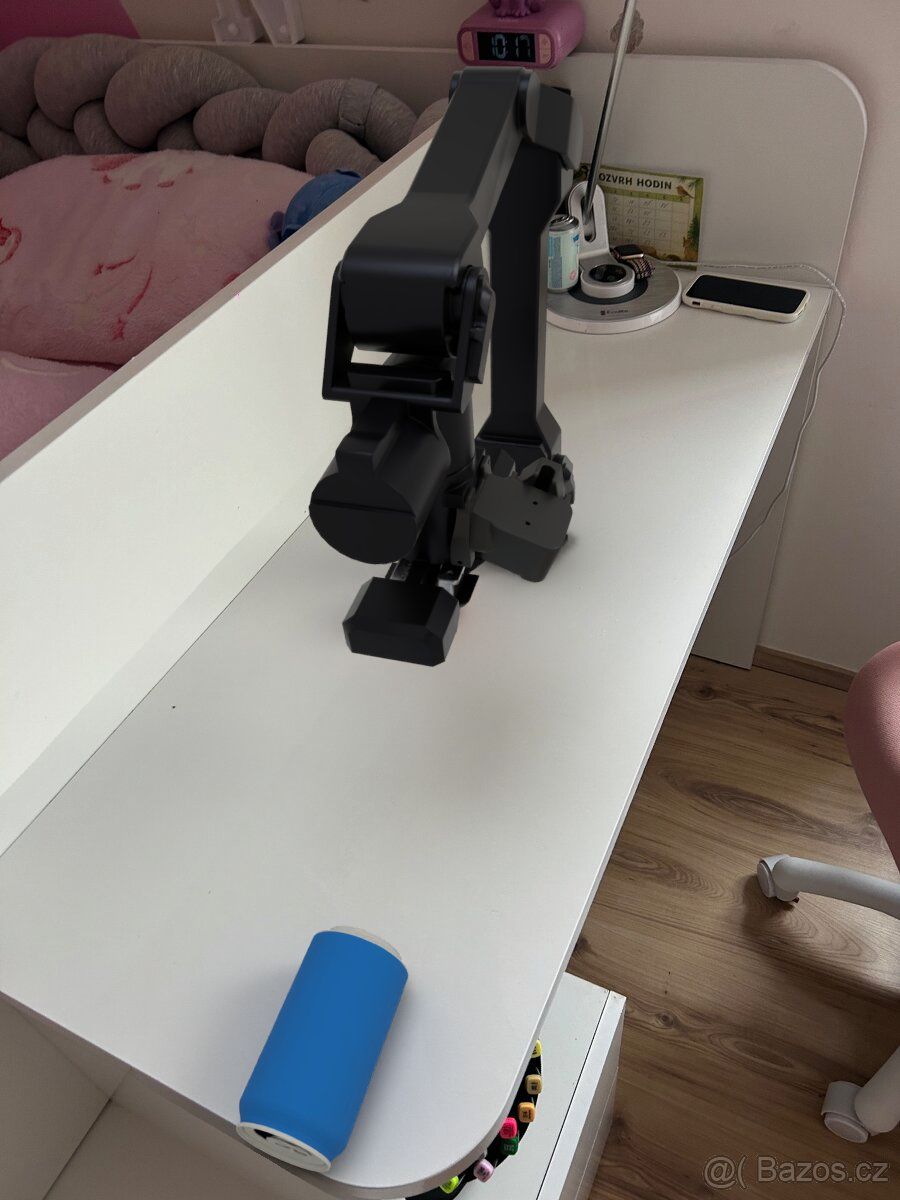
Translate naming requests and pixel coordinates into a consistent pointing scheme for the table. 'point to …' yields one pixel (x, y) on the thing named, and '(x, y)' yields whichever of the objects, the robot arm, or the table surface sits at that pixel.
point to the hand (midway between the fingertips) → (446, 634)
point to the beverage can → (323, 1049)
